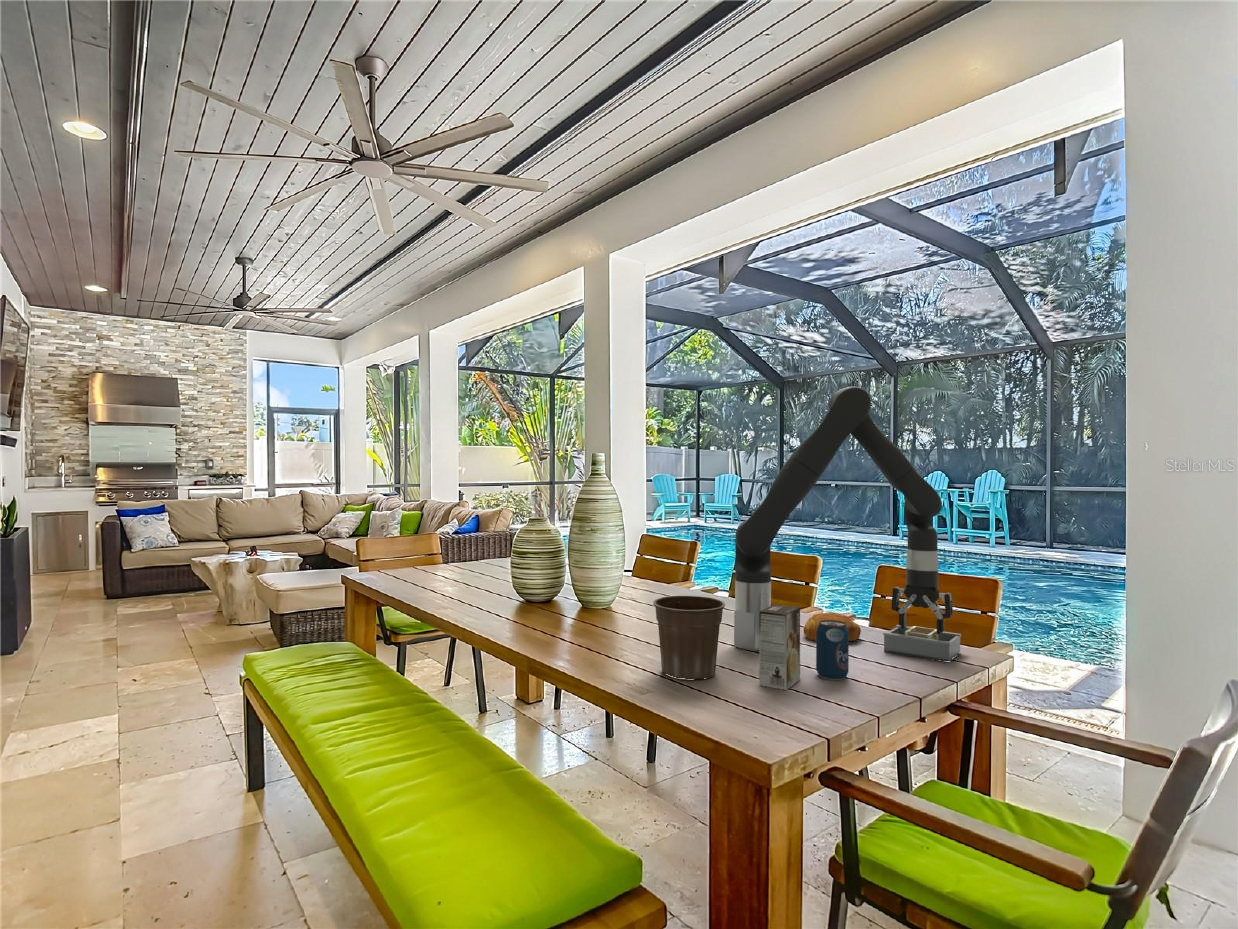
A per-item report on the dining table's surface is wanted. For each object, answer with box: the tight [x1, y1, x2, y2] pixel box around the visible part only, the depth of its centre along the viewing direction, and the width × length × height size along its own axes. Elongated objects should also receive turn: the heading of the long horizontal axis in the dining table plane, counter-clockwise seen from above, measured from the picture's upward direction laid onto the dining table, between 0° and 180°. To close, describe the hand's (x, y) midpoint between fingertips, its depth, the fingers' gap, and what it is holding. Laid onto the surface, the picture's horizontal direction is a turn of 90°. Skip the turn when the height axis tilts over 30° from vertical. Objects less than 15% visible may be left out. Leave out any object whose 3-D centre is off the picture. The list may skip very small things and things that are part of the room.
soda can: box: [815, 620, 850, 681], centre depth 151 cm, size 7×7×12 cm
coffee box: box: [758, 604, 801, 691], centre depth 146 cm, size 9×6×16 cm
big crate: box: [882, 624, 962, 662], centre depth 172 cm, size 12×16×5 cm
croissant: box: [803, 612, 862, 642], centre depth 188 cm, size 14×16×8 cm
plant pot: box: [652, 595, 726, 680], centre depth 153 cm, size 16×16×16 cm
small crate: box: [905, 625, 938, 640], centre depth 172 cm, size 8×6×5 cm
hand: (921, 630), depth 173 cm, fingers open, 8 cm apart
